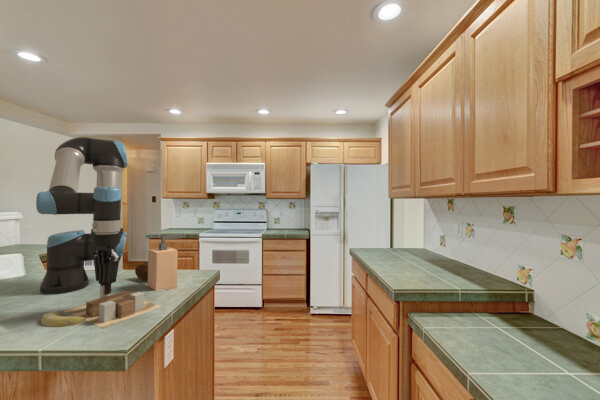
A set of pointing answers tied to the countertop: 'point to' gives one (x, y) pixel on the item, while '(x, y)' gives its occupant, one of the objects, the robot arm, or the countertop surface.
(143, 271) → the potato
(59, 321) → the fruit
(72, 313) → the board
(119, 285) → the countertop surface
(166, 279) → the pump bottle
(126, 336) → the countertop surface
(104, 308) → the posts
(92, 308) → the tee
